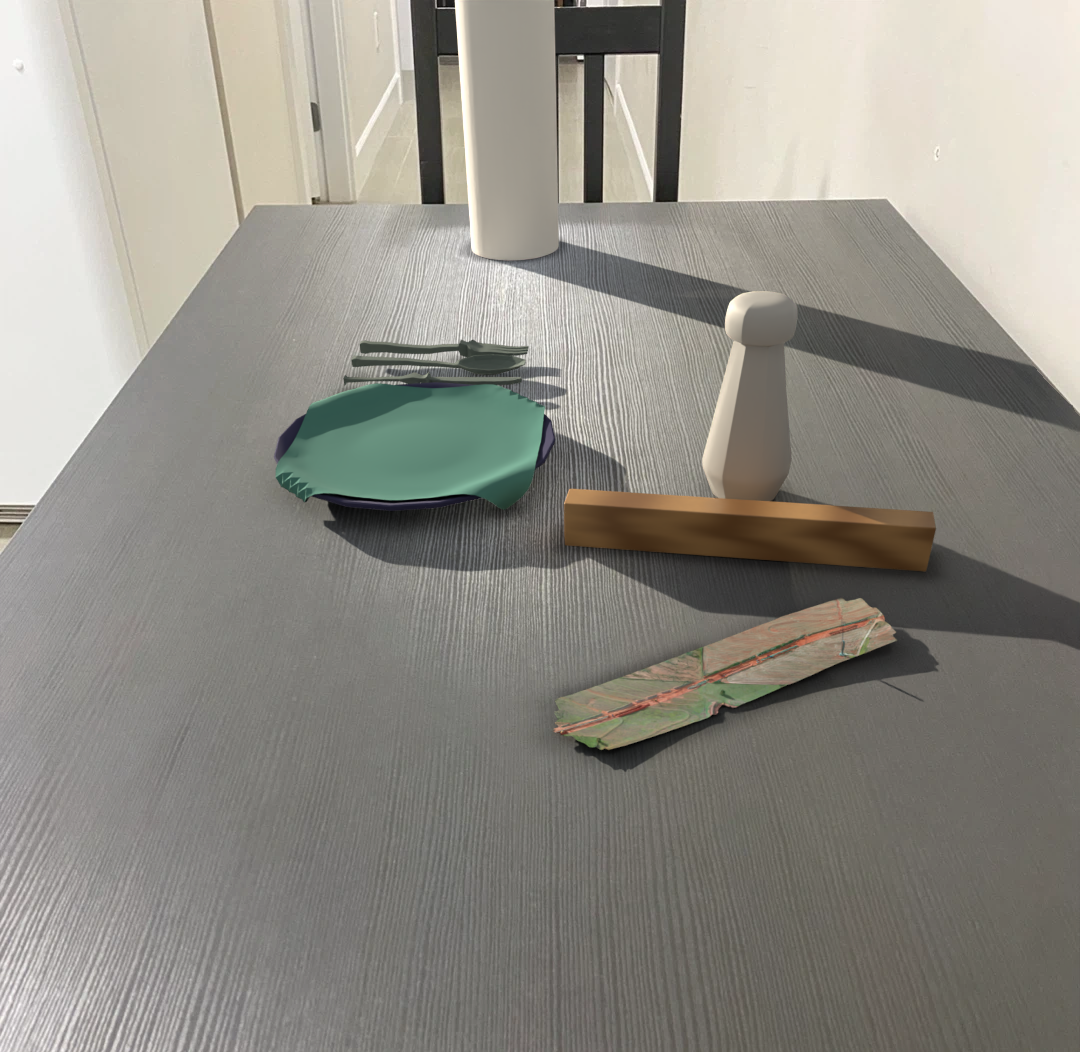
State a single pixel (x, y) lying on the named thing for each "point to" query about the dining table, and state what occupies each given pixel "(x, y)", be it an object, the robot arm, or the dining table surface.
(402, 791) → the dining table surface
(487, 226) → the cylinder container
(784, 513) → the long wooden block
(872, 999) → the dining table surface
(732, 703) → the map
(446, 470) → the cutlery set
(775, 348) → the salt shaker
